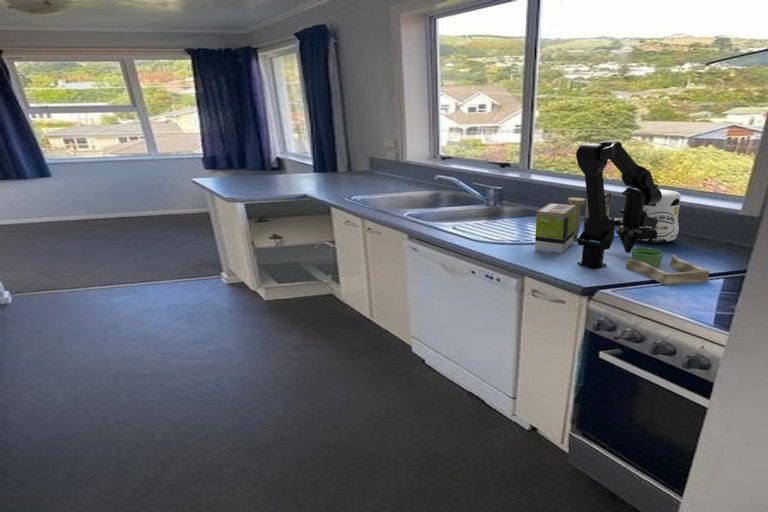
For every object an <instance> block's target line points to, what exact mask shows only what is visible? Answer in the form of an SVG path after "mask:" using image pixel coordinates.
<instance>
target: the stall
mask: <svg viewBox="0 0 768 512" xmlns="http://www.w3.org/2000/svg"><path fill="white" fill-rule="evenodd" d="M670 265H671V266H672V268H673V269H674V270H677V271H679V272H670V273H667V272H666V271H664V270H661V269H659V268H658V267H656V268H655V267H653V266H651V265H648V264H646V263H644V262H641V261H637V260H632V258H627V259H626V263H625V269H627V270H630V271H635V272H638V273H641V274H642V275H644V276H646V277H648V278H650V279H653V281H656V282H658V283H661V284H662V285H665V286H671V285H672V286H673V285H680V284H683V285H684V284H692V283H693V284H694V283H702V282H708V281H709V280H708V279H709V275H710V271H709V270H707V269H705V268H702V267H699V266H697V265H694V264H693V263H690V262H687V261H685V260H682V259H680V258H678V257H677V255H676V254H672V255H671V259H670Z"/></svg>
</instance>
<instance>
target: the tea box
mask: <svg viewBox="0 0 768 512" xmlns="http://www.w3.org/2000/svg"><path fill="white" fill-rule="evenodd" d="M575 211H576V205H571V204H563V203H562V204H561V203H551V202H550V203H548V204H546V205H545V206H543V207H542V208H540V209H538V210H537V211H536V216H535V220H536V221H535V235H534V236H535V237H534V239H535V240H534V243H535V244H534V250H535V251H540V252H548V253H553V252H554V253H553V254H563V253H564V252H565V251H566V250H567V249H568V248H569V247H571V246H572V245H573V243H574V239H575V238H574V226H575Z"/></svg>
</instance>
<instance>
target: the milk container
mask: <svg viewBox="0 0 768 512" xmlns="http://www.w3.org/2000/svg"><path fill="white" fill-rule="evenodd" d="M658 189H659V190H660V191H661V194H662V198H661V200H660V201H659V202H658V203H656V204H651V205H646V206H644V207H643V211H646V213H647V216H648V217H651V218H654V219H657V220H659V221H658V223H657V225H656V227H655V230H656V231H657V232H658V234H657V239H645V240H640V239H638V240H637V241H636V242H640V243H641V242H642V243H645V244H647V243H648V244H666V243H667V244H668V243H670V242H673V241H675V239H676V238H677V236H678V234H679V230H680V227H679V226H680V225H679V219H678V218H679V210H680V203H681V193H680V192H678V191H675V190H668V189H660V188H658ZM647 227H648V226H646V227H640V228H647ZM649 228H652V227H649ZM652 229H654V228H652Z"/></svg>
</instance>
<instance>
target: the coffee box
mask: <svg viewBox="0 0 768 512" xmlns="http://www.w3.org/2000/svg"><path fill="white" fill-rule="evenodd" d="M604 194H605V206H606V215H607V216H608V217H610V216H609V215H610V205H611V197H612V193H611V192H604ZM588 218H589V211H588V201H587V199H586V202H585V211H584V221H583V227H582V228H583V229H582V232H583V231H584V229H585V223H586V221H587V219H588Z"/></svg>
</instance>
